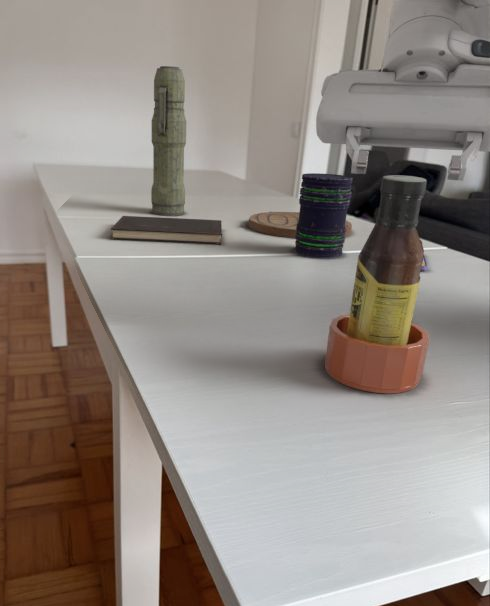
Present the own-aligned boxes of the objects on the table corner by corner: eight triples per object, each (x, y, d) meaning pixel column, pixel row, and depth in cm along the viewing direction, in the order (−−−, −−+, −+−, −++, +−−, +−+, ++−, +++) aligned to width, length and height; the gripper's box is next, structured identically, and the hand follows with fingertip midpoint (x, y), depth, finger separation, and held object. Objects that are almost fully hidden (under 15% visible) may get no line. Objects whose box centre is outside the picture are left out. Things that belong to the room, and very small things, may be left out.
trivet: (339, 221, 147) (340, 214, 146) (361, 241, 124) (362, 232, 123) (246, 217, 147) (247, 209, 146) (250, 236, 124) (251, 227, 123)
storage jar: (287, 254, 109) (294, 175, 103) (301, 245, 117) (309, 172, 112) (336, 261, 105) (347, 180, 100) (347, 251, 114) (358, 176, 108)
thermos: (188, 210, 152) (191, 69, 139) (179, 217, 142) (182, 65, 128) (157, 208, 154) (157, 68, 140) (146, 215, 143) (145, 64, 129)
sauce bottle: (349, 351, 63) (377, 171, 55) (405, 363, 61) (443, 176, 53) (335, 372, 58) (364, 176, 50) (396, 386, 55) (436, 182, 48)
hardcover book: (221, 244, 115) (221, 233, 114) (111, 239, 114) (110, 228, 113) (220, 229, 129) (221, 219, 128) (123, 225, 129) (123, 215, 128)
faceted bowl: (373, 348, 66) (380, 308, 64) (440, 383, 58) (450, 339, 56) (306, 361, 61) (311, 319, 59) (368, 401, 53) (376, 354, 51)
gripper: (326, 46, 60) (302, 144, 55) (533, 47, 54) (526, 156, 50) (326, 93, 66) (304, 186, 61) (514, 98, 60) (506, 200, 55)
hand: (406, 173), depth 55 cm, fingers open, 8 cm apart
